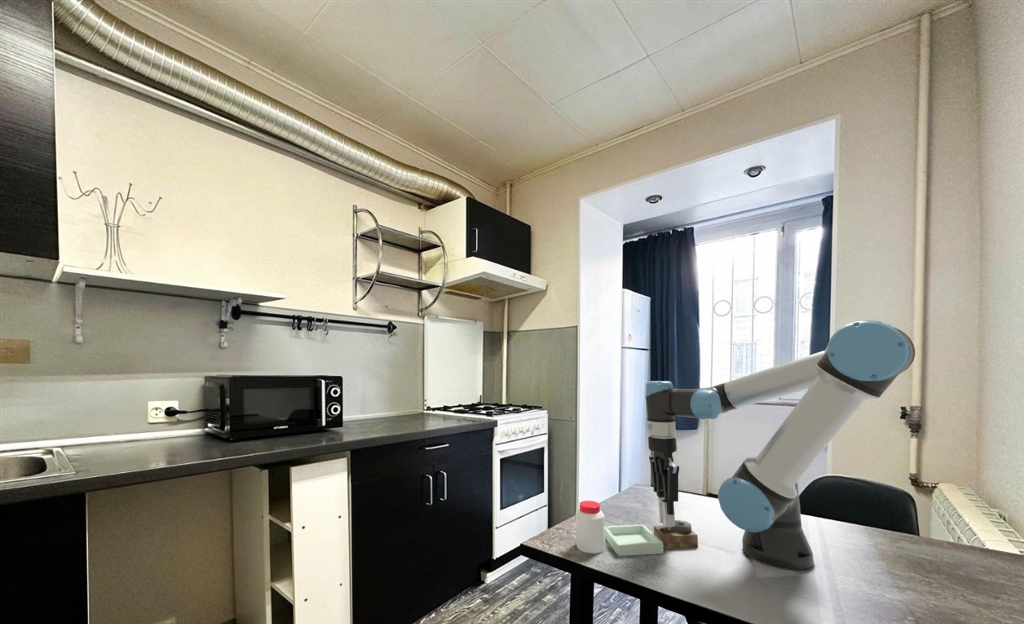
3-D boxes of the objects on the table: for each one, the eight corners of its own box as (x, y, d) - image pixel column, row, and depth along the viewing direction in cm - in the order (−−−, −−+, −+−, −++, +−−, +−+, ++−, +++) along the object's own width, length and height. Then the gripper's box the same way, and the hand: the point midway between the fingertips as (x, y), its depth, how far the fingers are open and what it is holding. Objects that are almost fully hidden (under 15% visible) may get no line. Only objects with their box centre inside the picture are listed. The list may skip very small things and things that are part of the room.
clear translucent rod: (672, 540, 110) (670, 502, 112) (672, 543, 108) (669, 504, 110) (664, 539, 111) (662, 501, 112) (663, 542, 109) (661, 503, 111)
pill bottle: (598, 556, 102) (596, 511, 104) (571, 548, 107) (570, 505, 108) (610, 545, 108) (608, 502, 110) (584, 538, 113) (583, 497, 114)
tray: (643, 533, 115) (643, 524, 116) (663, 553, 103) (662, 542, 104) (603, 536, 114) (603, 526, 114) (618, 556, 102) (618, 545, 103)
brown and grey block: (684, 535, 114) (683, 516, 115) (698, 546, 107) (696, 526, 108) (654, 537, 113) (653, 517, 114) (666, 548, 106) (664, 527, 107)
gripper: (638, 432, 121) (642, 514, 117) (661, 441, 106) (667, 536, 102) (661, 431, 121) (666, 513, 118) (688, 440, 106) (695, 534, 103)
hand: (667, 523), depth 110 cm, fingers closed on clear translucent rod, 2 cm apart
